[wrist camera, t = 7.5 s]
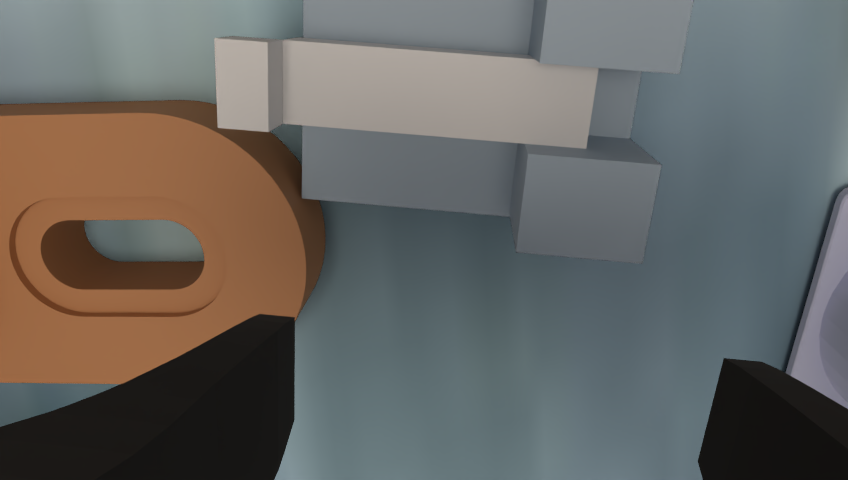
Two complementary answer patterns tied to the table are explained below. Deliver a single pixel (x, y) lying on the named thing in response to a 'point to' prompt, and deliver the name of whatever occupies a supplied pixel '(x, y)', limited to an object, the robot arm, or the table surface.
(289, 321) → the robot arm
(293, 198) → the bracket
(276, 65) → the vise
